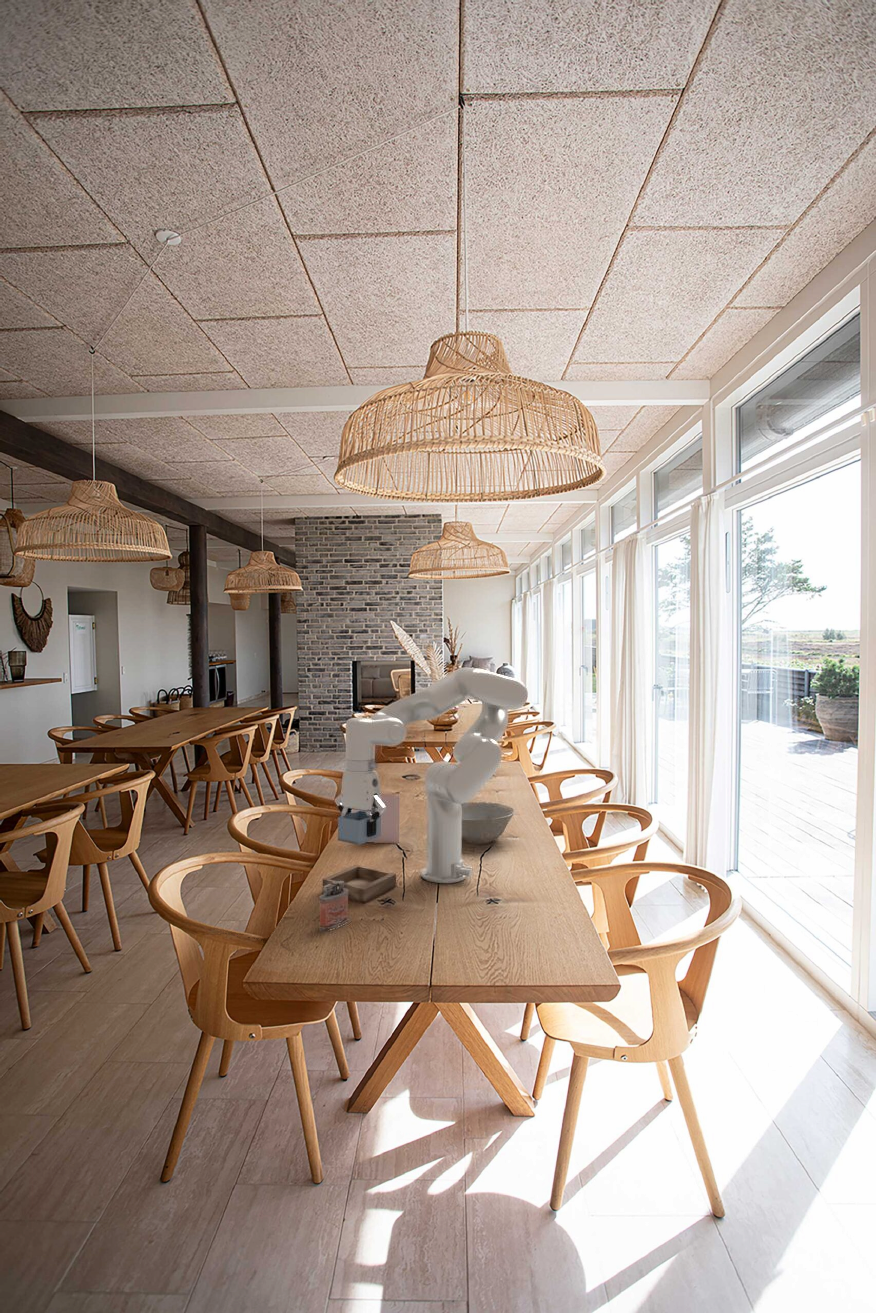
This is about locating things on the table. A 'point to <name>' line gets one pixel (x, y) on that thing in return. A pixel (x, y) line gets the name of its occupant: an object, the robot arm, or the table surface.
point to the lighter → (333, 906)
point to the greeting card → (389, 820)
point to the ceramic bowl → (484, 821)
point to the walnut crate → (363, 882)
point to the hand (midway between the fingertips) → (359, 832)
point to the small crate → (356, 828)
